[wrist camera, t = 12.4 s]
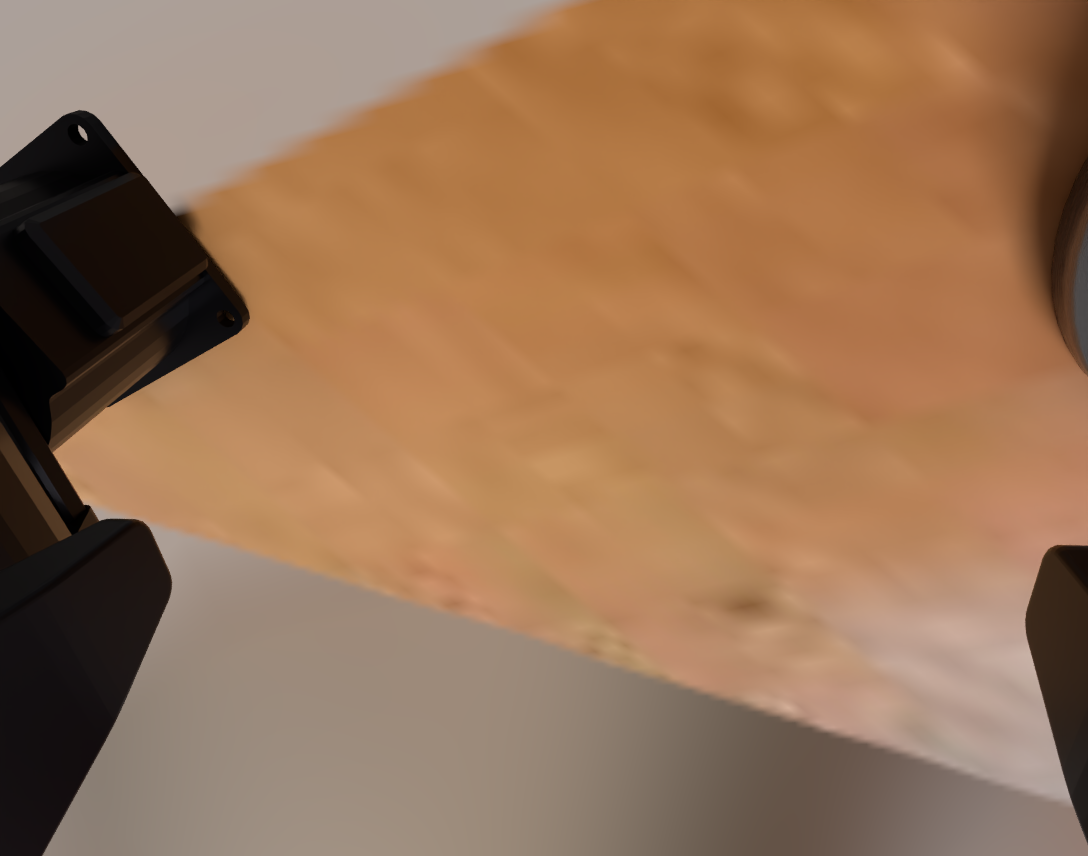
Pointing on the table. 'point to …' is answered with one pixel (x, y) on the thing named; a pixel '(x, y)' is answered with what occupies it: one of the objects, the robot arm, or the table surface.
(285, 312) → the table surface
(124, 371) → the robot arm
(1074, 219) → the mount
